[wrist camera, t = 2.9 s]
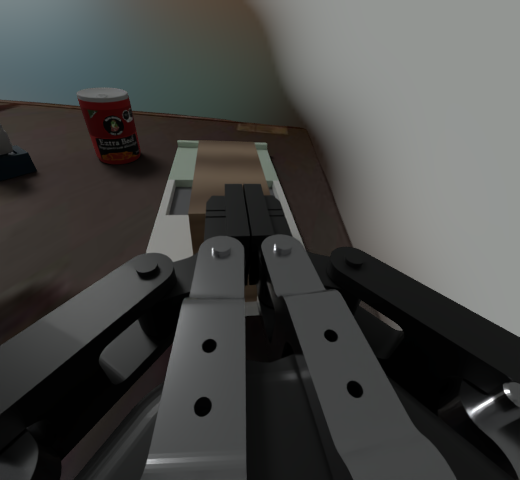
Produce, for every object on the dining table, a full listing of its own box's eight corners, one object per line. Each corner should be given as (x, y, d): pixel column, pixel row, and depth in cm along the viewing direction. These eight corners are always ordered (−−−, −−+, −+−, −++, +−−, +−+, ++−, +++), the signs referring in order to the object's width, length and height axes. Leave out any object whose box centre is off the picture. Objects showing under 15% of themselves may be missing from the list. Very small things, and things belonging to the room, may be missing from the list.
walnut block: (264, 301, 25) (276, 212, 18) (199, 304, 24) (188, 213, 17) (249, 216, 35) (254, 142, 29) (204, 216, 34) (198, 140, 28)
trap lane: (322, 310, 26) (328, 295, 24) (131, 323, 23) (124, 306, 22) (265, 154, 56) (266, 143, 55) (179, 152, 54) (178, 140, 52)
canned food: (101, 168, 46) (78, 98, 39) (95, 151, 51) (73, 87, 44) (146, 161, 49) (132, 96, 42) (136, 146, 54) (122, 86, 47)
